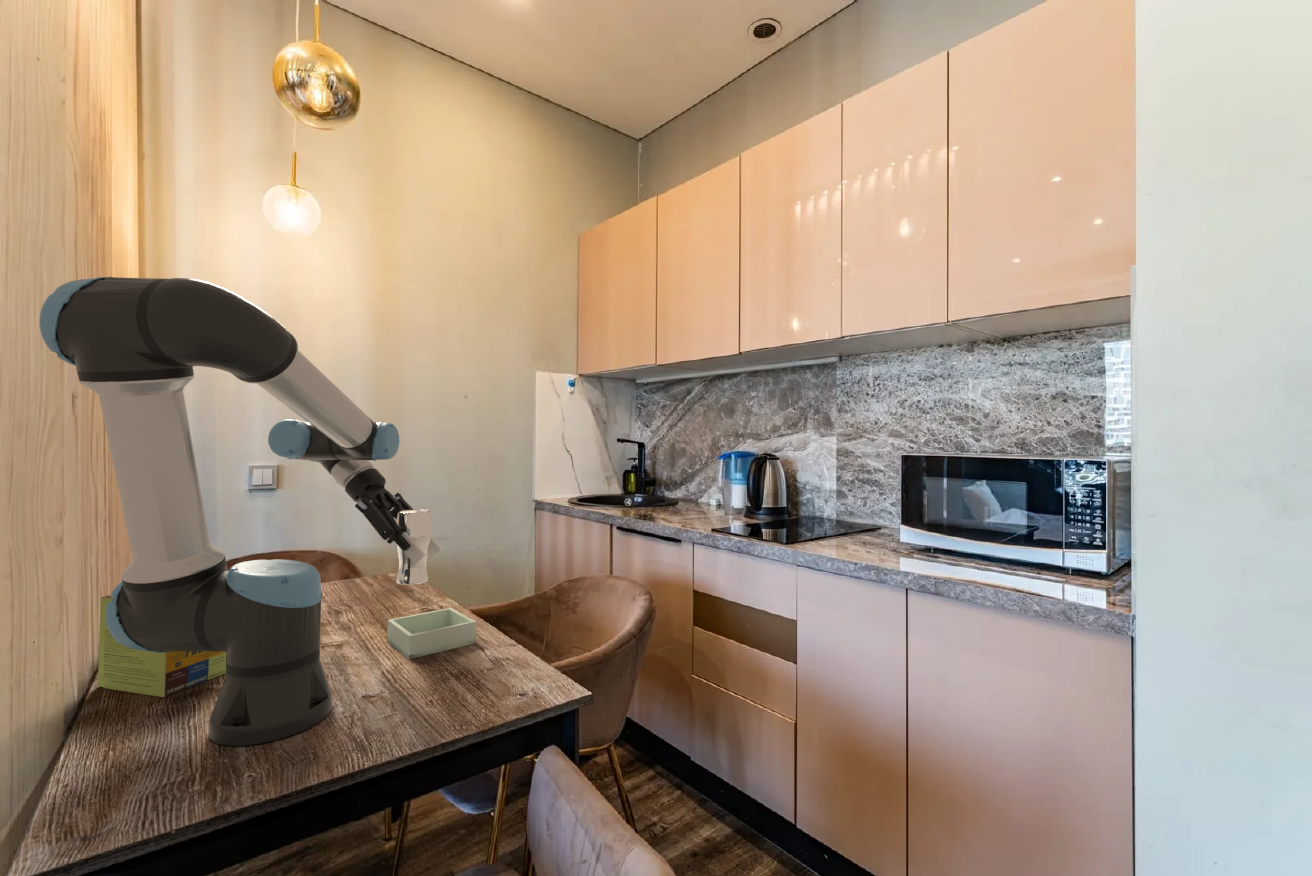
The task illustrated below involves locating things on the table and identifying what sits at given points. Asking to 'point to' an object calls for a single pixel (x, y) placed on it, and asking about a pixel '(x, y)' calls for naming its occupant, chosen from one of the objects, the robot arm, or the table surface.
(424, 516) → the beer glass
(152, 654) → the protein box
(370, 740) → the table surface
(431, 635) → the bin
